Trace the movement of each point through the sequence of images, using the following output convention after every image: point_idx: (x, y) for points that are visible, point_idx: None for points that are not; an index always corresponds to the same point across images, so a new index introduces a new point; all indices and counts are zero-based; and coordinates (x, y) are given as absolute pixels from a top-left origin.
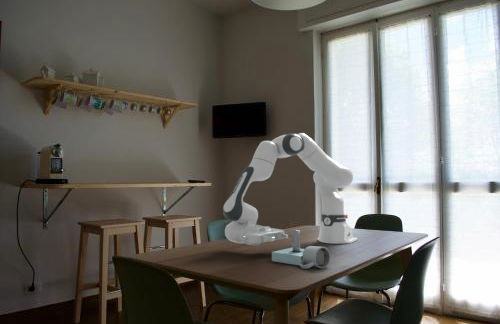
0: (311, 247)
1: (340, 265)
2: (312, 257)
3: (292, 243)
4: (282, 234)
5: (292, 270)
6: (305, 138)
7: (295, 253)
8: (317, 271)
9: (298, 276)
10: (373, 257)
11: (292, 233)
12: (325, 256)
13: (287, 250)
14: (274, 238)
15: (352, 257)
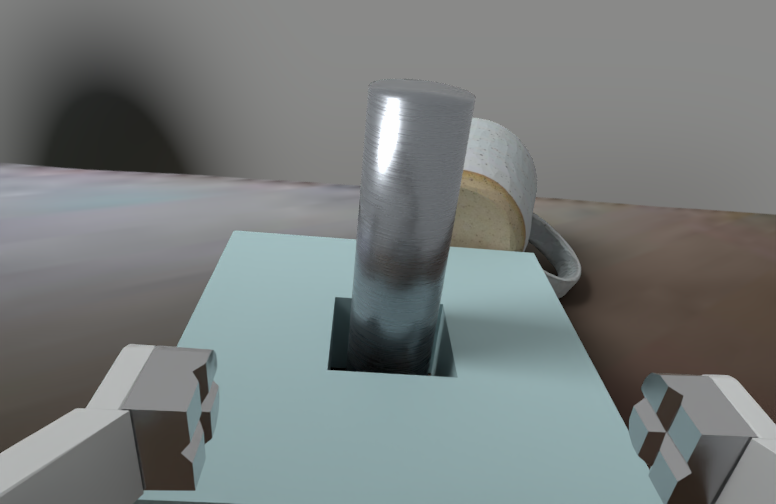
0: (498, 155)
1: (333, 209)
2: (535, 195)
3: (438, 272)
4: (47, 489)
5: (657, 305)
6: None
7: (481, 306)
8: None
9: (698, 254)
10: (11, 165)
11: (463, 147)
12: None
13: (406, 422)
14: (643, 388)
15: (43, 212)
